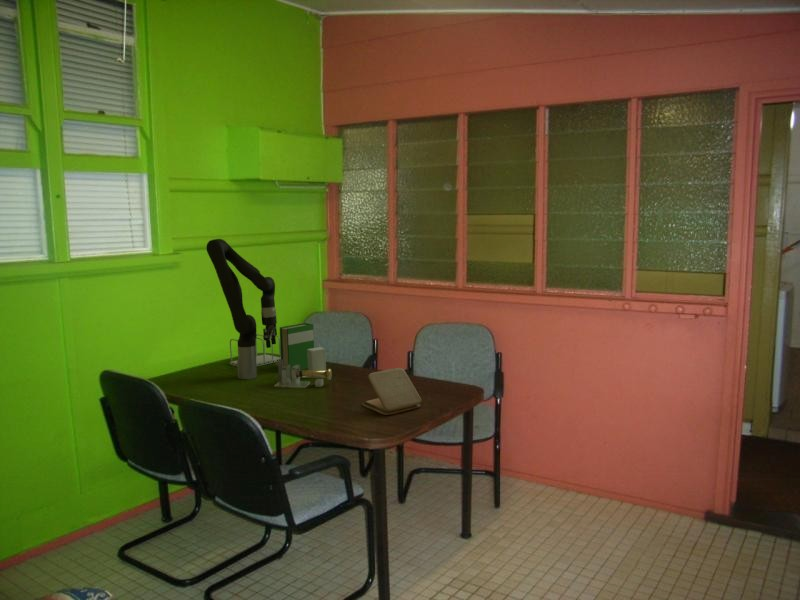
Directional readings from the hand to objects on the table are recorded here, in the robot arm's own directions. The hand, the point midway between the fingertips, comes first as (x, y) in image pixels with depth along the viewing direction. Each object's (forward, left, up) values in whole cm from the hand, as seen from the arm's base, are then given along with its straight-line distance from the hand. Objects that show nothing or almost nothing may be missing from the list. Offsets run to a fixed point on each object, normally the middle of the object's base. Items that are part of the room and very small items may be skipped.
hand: (271, 345), depth 341 cm
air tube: (+25, -13, -14) cm, 31 cm away
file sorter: (-20, +32, -18) cm, 42 cm away
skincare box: (+23, +6, -17) cm, 29 cm away
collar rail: (+18, -13, -17) cm, 28 cm away
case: (+70, -44, -18) cm, 84 cm away
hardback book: (+8, +22, -17) cm, 29 cm away
